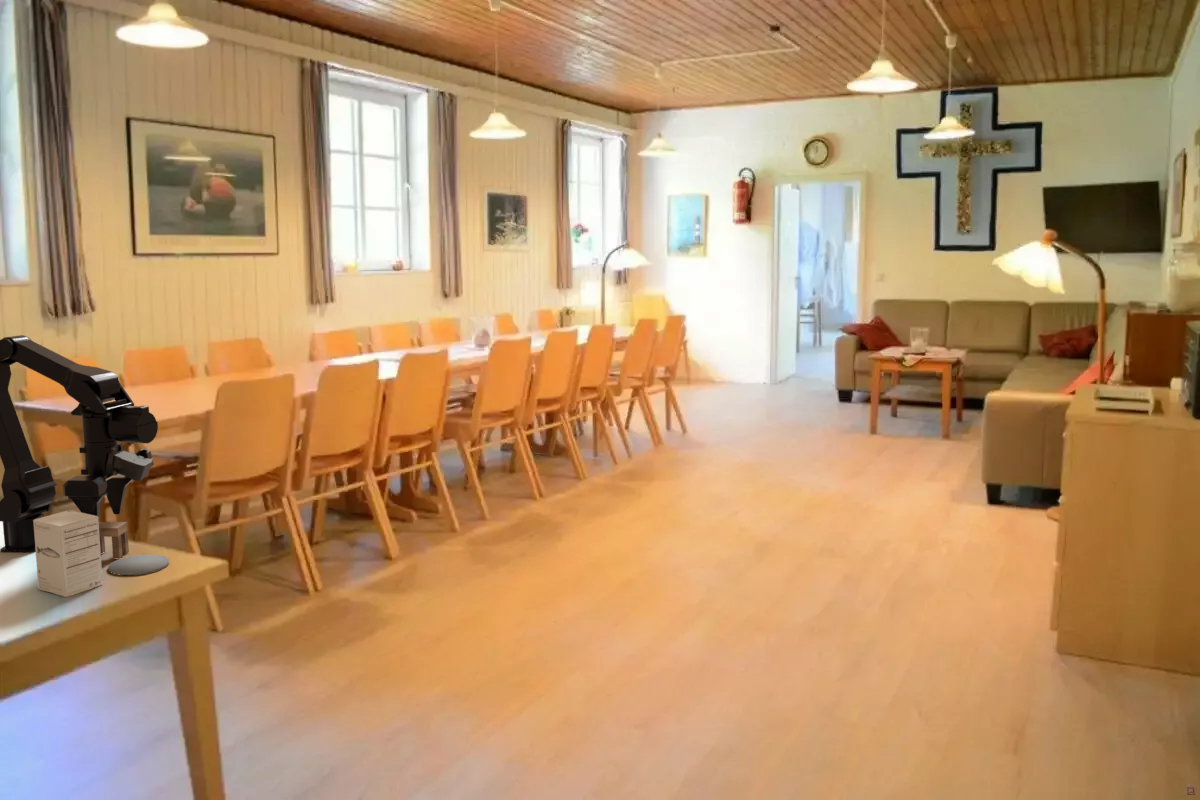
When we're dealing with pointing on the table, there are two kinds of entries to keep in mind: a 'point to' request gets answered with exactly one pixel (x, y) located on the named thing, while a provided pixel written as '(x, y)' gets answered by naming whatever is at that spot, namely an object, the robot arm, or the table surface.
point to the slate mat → (139, 564)
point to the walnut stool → (114, 537)
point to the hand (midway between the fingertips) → (106, 521)
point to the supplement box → (68, 552)
